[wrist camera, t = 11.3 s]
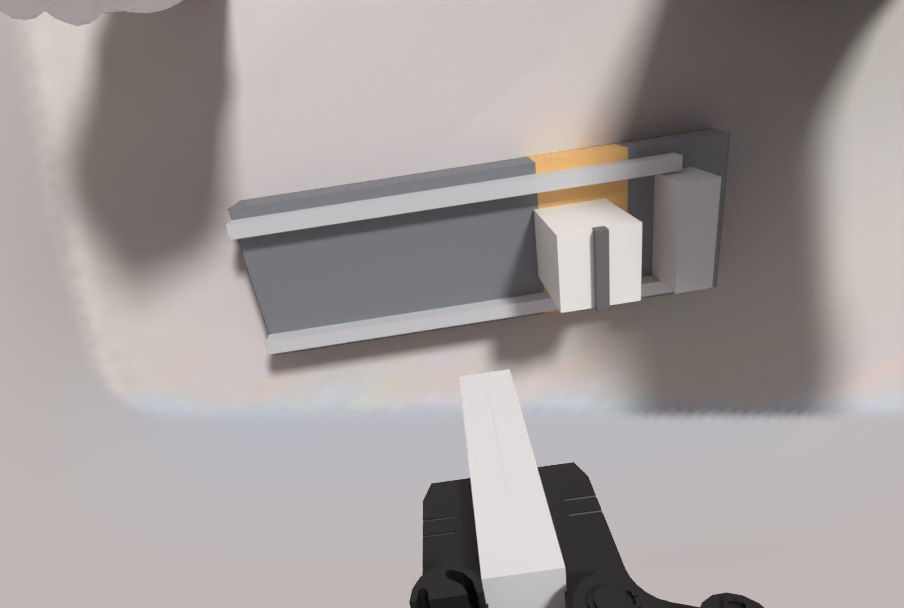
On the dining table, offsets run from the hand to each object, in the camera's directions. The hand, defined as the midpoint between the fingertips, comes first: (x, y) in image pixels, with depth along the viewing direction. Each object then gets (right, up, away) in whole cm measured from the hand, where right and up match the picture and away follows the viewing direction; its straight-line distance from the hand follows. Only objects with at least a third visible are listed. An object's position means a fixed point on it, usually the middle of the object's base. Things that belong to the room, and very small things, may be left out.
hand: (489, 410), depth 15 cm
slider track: (+1, +7, +15) cm, 17 cm away
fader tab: (+6, +7, +13) cm, 16 cm away
